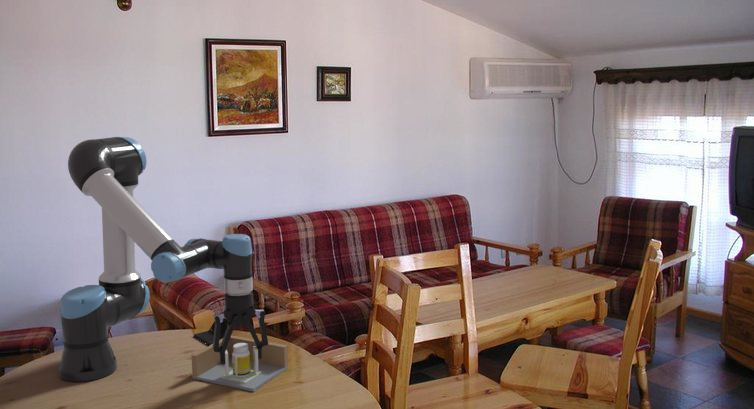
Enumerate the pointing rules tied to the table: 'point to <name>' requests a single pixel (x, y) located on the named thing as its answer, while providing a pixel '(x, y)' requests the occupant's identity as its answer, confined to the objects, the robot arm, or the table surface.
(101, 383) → the table surface
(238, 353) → the supplement bottle
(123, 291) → the robot arm
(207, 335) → the handheld gaming console
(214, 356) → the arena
